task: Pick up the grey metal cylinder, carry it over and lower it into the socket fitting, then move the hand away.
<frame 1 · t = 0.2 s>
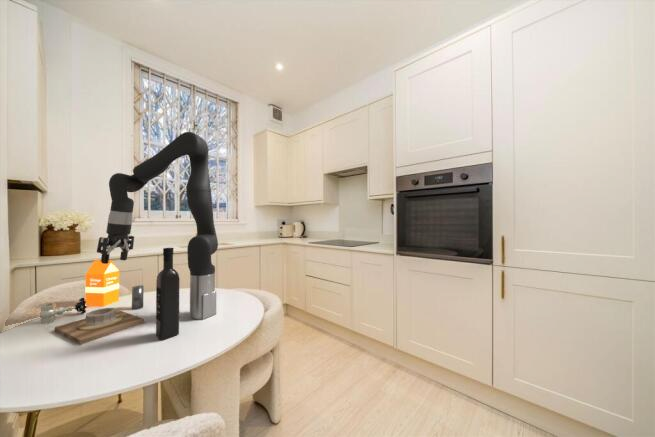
hand: (114, 261, 98), 22 cm above the table, tool pointing down, fingers open, 8 cm apart
valve: (63, 318, 95), on the table
socket fitting: (101, 326, 88), on the table
grey metal cylinder: (137, 308, 106), on the table
wine bottle: (167, 335, 82), on the table
orange juice: (102, 303, 112), on the table
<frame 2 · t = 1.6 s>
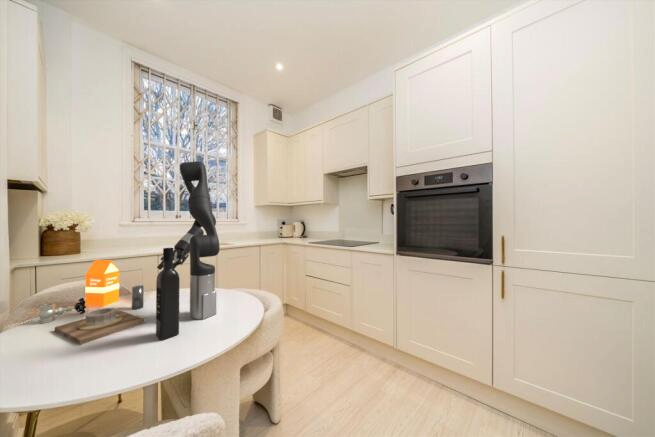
hand: (164, 269, 116), 15 cm above the table, tool tilted 45°, fingers open, 8 cm apart
nothing on the table moved.
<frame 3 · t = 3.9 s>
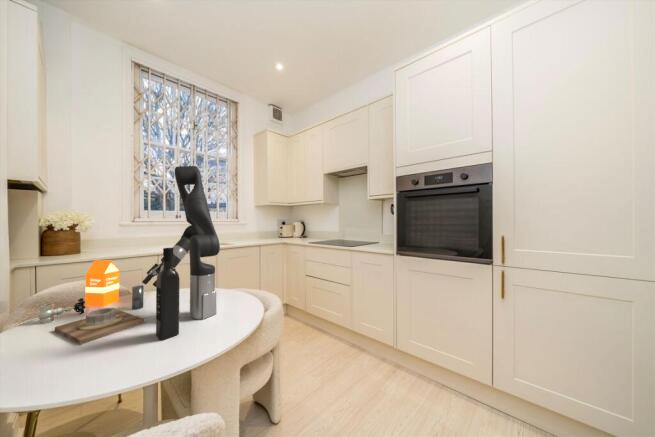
hand: (149, 284, 110), 9 cm above the table, tool tilted 45°, fingers open, 8 cm apart
nothing on the table moved.
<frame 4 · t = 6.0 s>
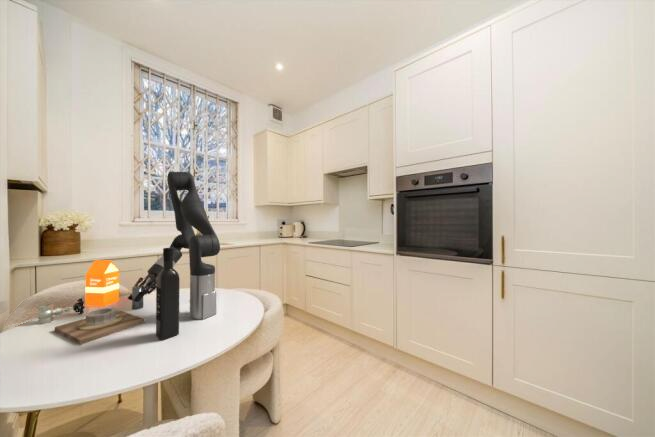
hand: (132, 300, 105), 4 cm above the table, tool tilted 45°, fingers closed on grey metal cylinder, 4 cm apart
grey metal cylinder: (137, 308, 106), on the table, touching gripper
everything else where it was.
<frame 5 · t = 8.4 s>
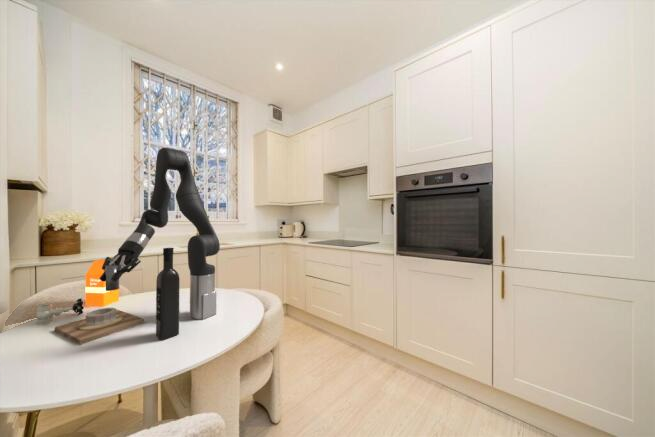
hand: (107, 280, 92), 16 cm above the table, tool tilted 45°, fingers closed on grey metal cylinder, 4 cm apart
grey metal cylinder: (112, 289, 94), point 12 cm above the table, touching gripper
everything else where it was.
when the fingers open (7 cm above the table, at t = 10.9 s): grey metal cylinder stays where it is, resting on socket fitting.
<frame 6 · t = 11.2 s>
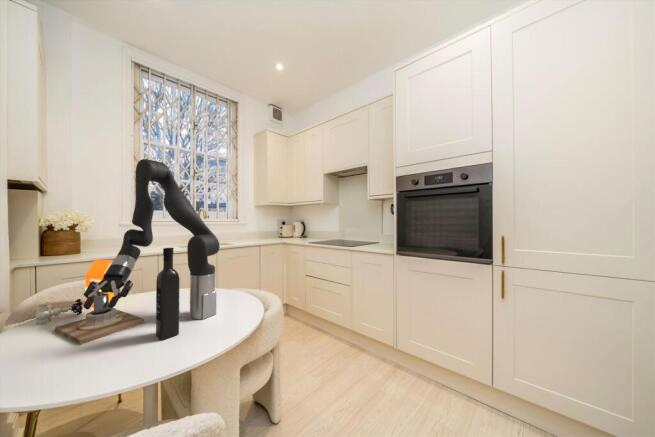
hand: (98, 307, 86), 8 cm above the table, tool tilted 45°, fingers open, 7 cm apart
grey metal cylinder: (101, 320, 88), point 2 cm above the table, touching socket fitting
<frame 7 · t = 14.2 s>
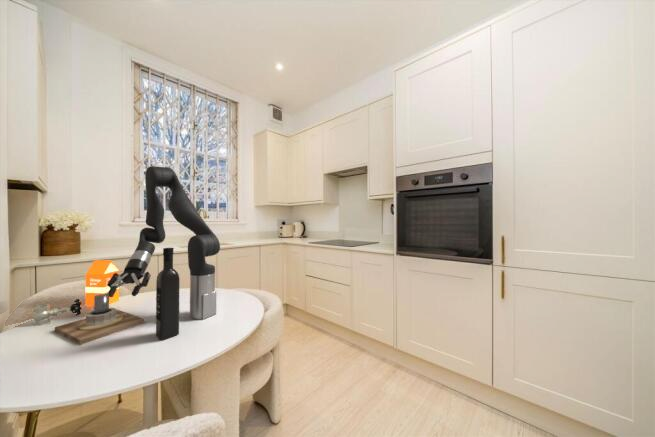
hand: (121, 295, 99), 8 cm above the table, tool tilted 45°, fingers open, 8 cm apart
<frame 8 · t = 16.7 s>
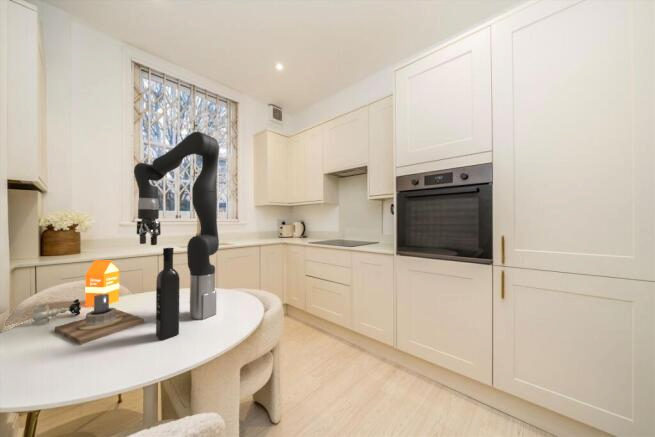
hand: (148, 244, 108), 28 cm above the table, tool pointing down, fingers open, 8 cm apart
at the end: grey metal cylinder 0.1 cm off-centre on the socket fitting, point 2.1 cm above the socket fitting's base; grey metal cylinder tilted 0°; the gripper is holding nothing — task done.
